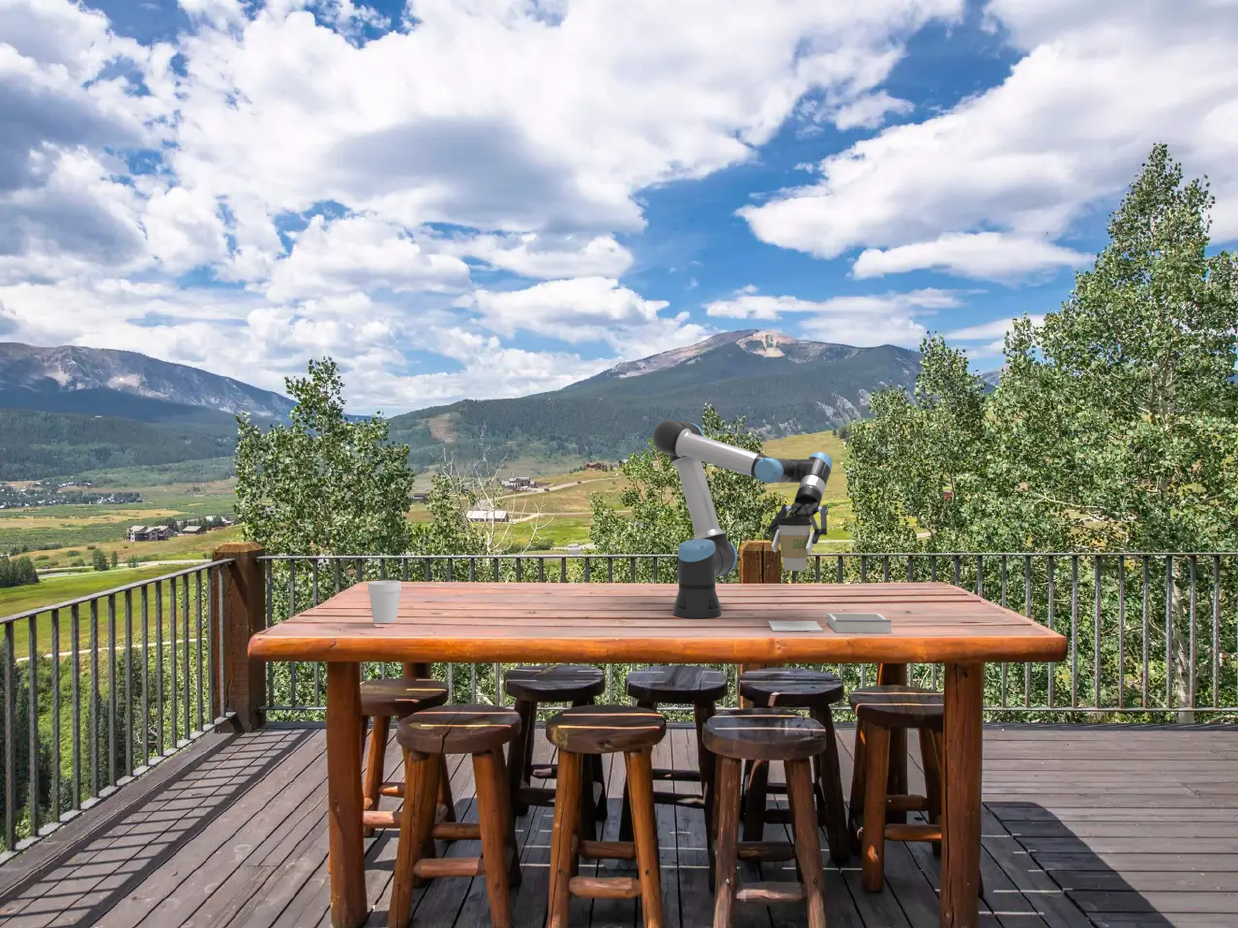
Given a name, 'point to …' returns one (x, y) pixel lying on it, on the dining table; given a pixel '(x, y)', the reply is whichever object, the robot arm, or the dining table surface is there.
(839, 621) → the cup holder
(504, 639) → the dining table surface
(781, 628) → the rubber mat
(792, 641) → the dining table surface
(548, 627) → the dining table surface
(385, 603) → the foam cup
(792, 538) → the coffee cup
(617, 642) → the dining table surface
